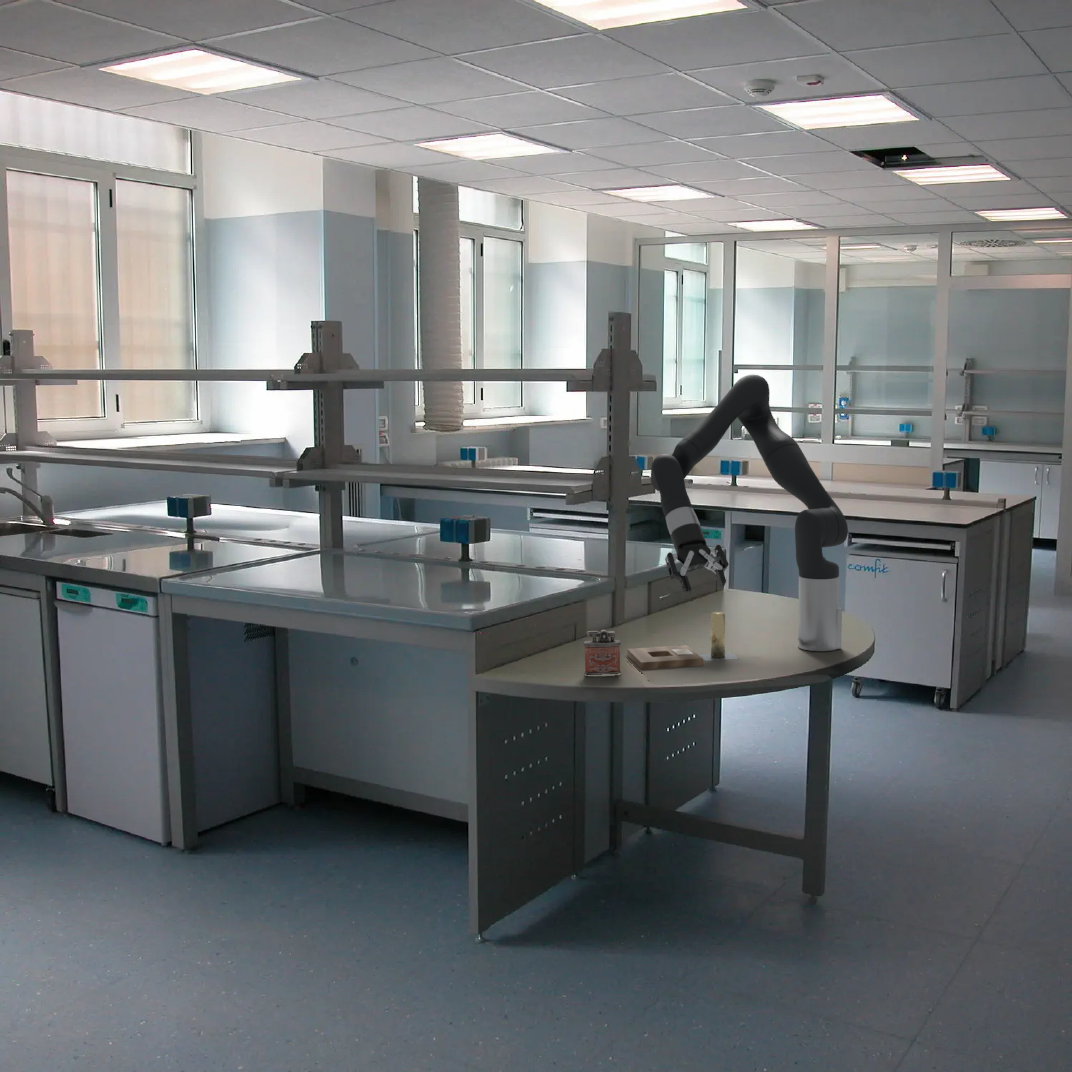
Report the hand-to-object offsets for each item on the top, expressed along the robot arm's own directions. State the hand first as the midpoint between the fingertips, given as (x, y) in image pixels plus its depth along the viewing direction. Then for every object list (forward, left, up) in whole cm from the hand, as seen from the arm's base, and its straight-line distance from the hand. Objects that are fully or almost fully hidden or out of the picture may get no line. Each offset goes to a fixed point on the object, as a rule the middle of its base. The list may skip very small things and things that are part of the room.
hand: (705, 589), depth 262 cm
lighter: (+28, +14, -15) cm, 35 cm away
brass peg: (0, +10, -14) cm, 17 cm away
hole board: (+13, +10, -15) cm, 22 cm away
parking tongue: (0, +10, -15) cm, 18 cm away
